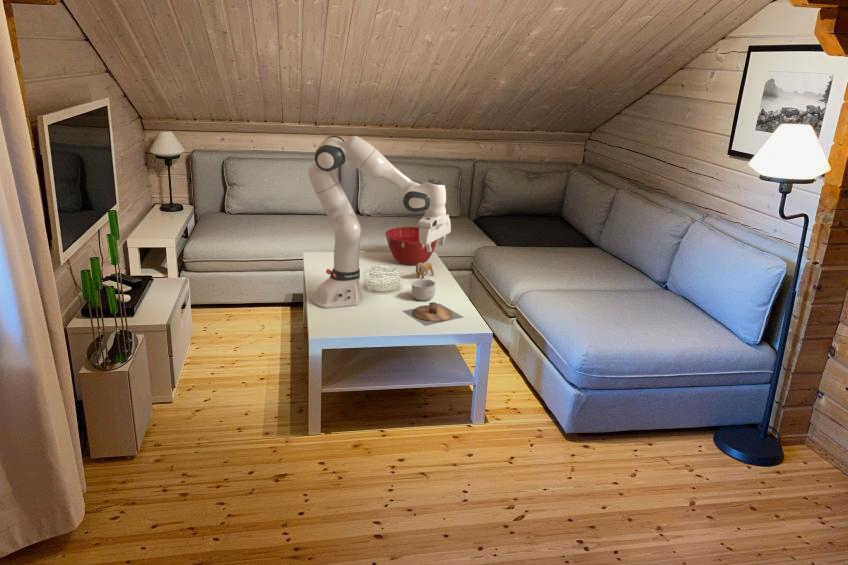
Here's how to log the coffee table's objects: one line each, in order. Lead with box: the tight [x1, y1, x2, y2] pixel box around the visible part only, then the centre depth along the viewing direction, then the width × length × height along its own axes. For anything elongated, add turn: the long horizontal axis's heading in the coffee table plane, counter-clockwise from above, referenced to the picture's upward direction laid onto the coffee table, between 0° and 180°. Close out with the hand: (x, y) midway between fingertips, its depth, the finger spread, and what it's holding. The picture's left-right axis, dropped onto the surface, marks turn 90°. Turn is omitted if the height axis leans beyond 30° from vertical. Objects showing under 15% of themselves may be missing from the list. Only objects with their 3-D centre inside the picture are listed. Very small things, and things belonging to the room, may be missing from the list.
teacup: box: [411, 277, 436, 302], centre depth 305 cm, size 14×11×8 cm
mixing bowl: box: [385, 226, 439, 266], centre depth 355 cm, size 28×28×16 cm
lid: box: [413, 301, 453, 323], centre depth 287 cm, size 17×17×5 cm
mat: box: [402, 303, 464, 327], centre depth 288 cm, size 20×18×1 cm
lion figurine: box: [415, 262, 435, 280], centre depth 333 cm, size 15×5×9 cm, turn 151°
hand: (435, 248), depth 289 cm, fingers open, 8 cm apart
